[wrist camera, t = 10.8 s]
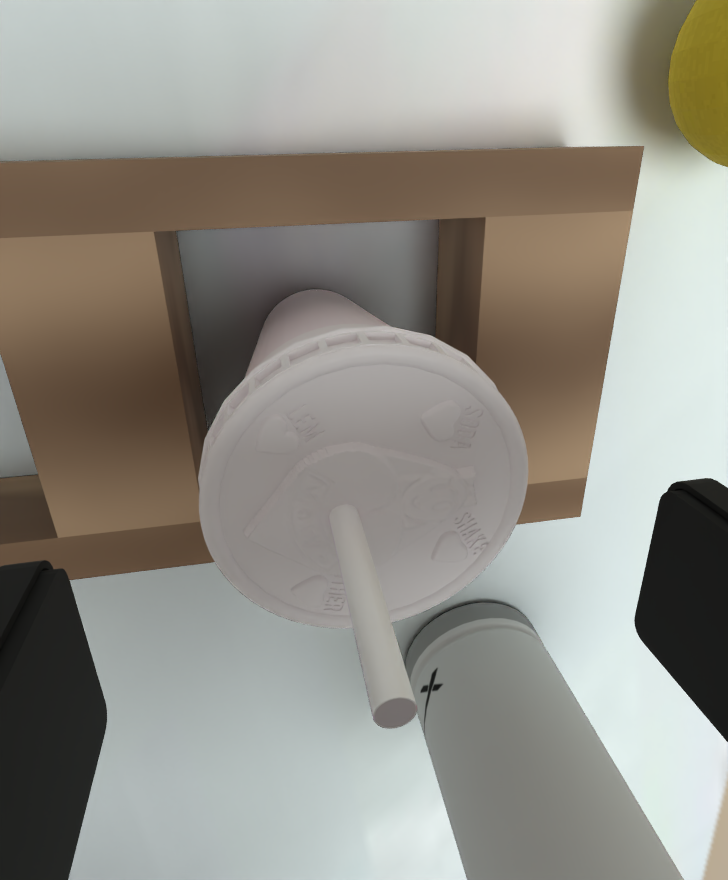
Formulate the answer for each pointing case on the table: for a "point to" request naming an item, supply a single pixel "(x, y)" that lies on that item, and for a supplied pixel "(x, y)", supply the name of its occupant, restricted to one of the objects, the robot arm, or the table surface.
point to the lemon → (702, 79)
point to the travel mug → (522, 758)
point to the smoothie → (359, 479)
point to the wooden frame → (171, 341)
